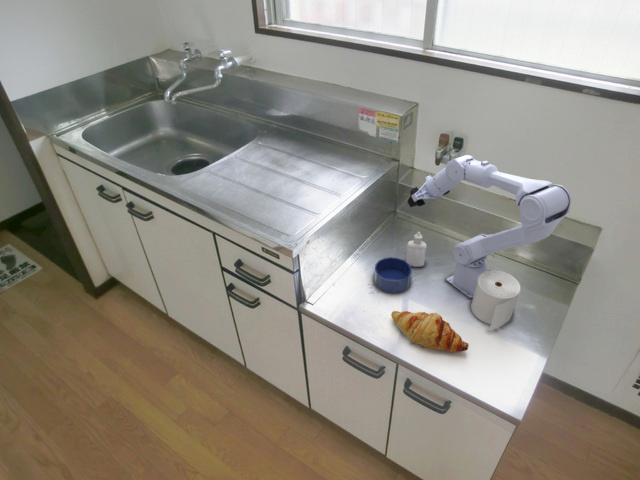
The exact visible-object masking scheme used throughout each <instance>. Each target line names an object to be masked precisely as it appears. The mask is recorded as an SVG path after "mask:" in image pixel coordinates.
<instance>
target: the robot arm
mask: <svg viewBox="0 0 640 480" xmlns="http://www.w3.org/2000/svg"><path fill="white" fill-rule="evenodd" d="M424 180H425V182H424V183H423V184H422V186H421V187H420V188H419V187H418V186H415V187H413V188H412V189H411V190H410V191H409V192H410V195H409V197H408V200H407V205H409V208H413V207H416V206H417V207H422V206H424V205H426V202H425V201H424V200H434V199H435V200H436V199H439V198H442V196H446V195H447V194H449V193H450V192H451V190H452V188H454V187H456V186H457V185H458V184H460V183H461V182H462V181H465V182H468V183H471V184H474V185H477V186H479V187H482V188H485V189H488V188H490V187H492V186H493V187H496V188H498V189H500V190H503V191H505V192H508V193H510V194H513V195H515V205H516V207H519V215H520V223H521V224H520V225H519V226H516V227H513V228H509V229H506V230H502V231H499V232H496V233H493V234H492V233H491V234H484V233H479V234H477V235H476V236H474V237H471V238H469V239H467V240H464V241H462V242H459V243H456V244H455V245H454V246H453V248H452V252H453V258H454V259H455V260H456V264H455V268H454V272H453V274H452V275H451V276H449V277H447V278H446V282H448V283H449V284H450V285H452V286H453V287H454V288H455V289H457V290H458V291H459V292H461V293H462V294H463V295H465V296H466V297H468V298H469V299H473V296H474V292H475V289H476V284H477V280H478V277H479V276H480V275H481V274H482V273H484V272H486V271H492V269H490V267H488V265H487V264H486V262H485V261H486V260H487V257H488V256H490V255H491V254H497V253H499V252H505V251H507V250H511V249H515V248H518V247H522V246H528V245H530V244H534V243H538V242H540V241H542V240H544V239H547V238H548V237H550V236H551V234H552V233H553V232H554V230H555V229H556V227H557V226H558V225H559V224H560V223H561V221H562V220H563V219H564V218H565V217H566V216H567V215H569V214H570V211H571V205H572V195H571V192H570V191H569V190H568V189H567V187H566V186H564V185H561V184H553V182H552V181H549V180H542V179H532V178H528V177H523V176H519V175H514V174H510V173H506V172H501V171H499V169H498V167H497V166H496V165H494V164H490V161H489V160H483V161H480V160H477V159H476V158H475V157H474V156H472V155H469V154H464V155H462V156H459V157H456V158H453V159H450V160H449V161H447V163H446V165H445V167H444V168H442V169H440V171H438V172H437V173H435V175H434V176H432V175H427V176H425V177H424Z"/></svg>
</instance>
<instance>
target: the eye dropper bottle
mask: <svg viewBox="0 0 640 480" xmlns="http://www.w3.org/2000/svg"><path fill="white" fill-rule="evenodd" d="M406 246H407V248H406V254H405V255H406V256H405V261H406V262H407V263H408V264H409V265H410V267H413V268H420V267H424V266H425V260H426V253H427V243H426V242H425V241H423V234H421V231H417V232H416V233H415V234H414V235H413V239H412V240H409V241H408V242H407V245H406Z"/></svg>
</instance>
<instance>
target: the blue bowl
mask: <svg viewBox="0 0 640 480" xmlns="http://www.w3.org/2000/svg"><path fill="white" fill-rule="evenodd" d="M412 270H413V269H412V266H410V265H409V264H408V263H407V262H406V259H402V258H399V257H393V256H388V257H383V258H381V259H379V260H378V261H377V262H376V263H375V265H374V272H373V273H374V274H373V283H374V285H375V286H376V288H378V290H380V291H382V292H384V293H387V294H399V293H404V292H405V291H407V290H408V288H409V287H410V285H411V281H412V279H411V278H412Z"/></svg>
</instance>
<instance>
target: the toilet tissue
mask: <svg viewBox="0 0 640 480" xmlns="http://www.w3.org/2000/svg"><path fill="white" fill-rule="evenodd" d="M520 293H521V284H520V282H519V281H518V279H516V278H515V277H514V276H513V275H511V274H510V273H507V272H506V271H505V272H504V271H501V270H495V269H493V270H492V269H491V271H486V272H484V273H482V274H481V275H480V276H479V277H478V280H477V284H476V289H475V292H474V296H473V298H472V299H471V304H470V308H471V312H472V314H473V315H474V316H475V317H476V319H477V320H479V321H481V322H483V323H485V324H489V329H488V332H489V331H494V330H496V329H498V328H501V327H502V326H503V325H506V324H507V323H508V322H509V321H510V320H511V319H512V316H513V313H514V310H515V307H516V305H517V301H518V299H519V296H520Z"/></svg>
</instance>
